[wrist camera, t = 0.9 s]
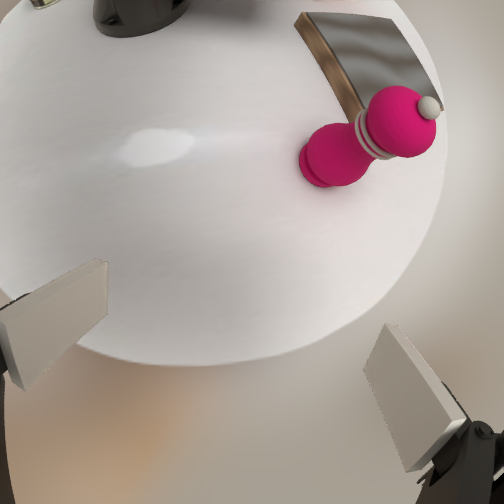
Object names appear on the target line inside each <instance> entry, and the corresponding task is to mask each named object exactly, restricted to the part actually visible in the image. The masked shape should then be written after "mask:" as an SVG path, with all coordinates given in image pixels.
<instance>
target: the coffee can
mask: <svg viewBox="0 0 504 504" xmlns="http://www.w3.org/2000/svg"><path fill="white" fill-rule="evenodd" d="M30 1H31V2H32V4H33V6H34V8H35V9H42V8H46V7H48V6H50V5H52V4H54V3H56V2H58V1H59V0H30Z"/></svg>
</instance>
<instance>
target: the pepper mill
mask: <svg viewBox="0 0 504 504" xmlns="http://www.w3.org/2000/svg"><path fill="white" fill-rule="evenodd" d="M440 110H441V109H440V105H439V103H438V102H437V101H436V99H434V98H433V97H429V96H425V97H422V96H421V95H420V94H418V93H417V92H416V91H414V90H412V89H410V88H407V87H405V86H397V85H395V86H389V87H386V88H384V89H382V90H380V91H378V92H377V93H376V94H375V95H374V96H373V97H372V99H371V100H370V103H369V106H367V107H366V108H365V109H363V110H361V111H360V112H359V113H358V115H357V117H356V120H355V121H354V122H352V123H348V124H345V123H333V124H328V125H325V126H323V127H322V128H320V129H318V130H317V131H316V132H314V133H313V135H312V136H311V138H310V140H309V142H308V143H307V144H306V145H305V146H304V147H303V148H302V150H301V152H300V156H299V164H300V168H301V171H302V173H303V175H304V176H305V177H306V179H307V180H308V181H309V182H311V183H312V184H314V185H316V186H319V187H331V186H346V185H349V184H352V183H354V182H356V181H357V180H359V179H360V178H361V177H362V176H363V175H364V174H365V173H366V171H367V169H368V167H369V165H370V164H371V163H372V162H373V161H374V160H375V159H380V160H388V159H391V158H393V157H397V156H400V157H406V158H410V157H415V156H418V155H420V154H422V153H424V152H425V151H426V150H427V149H428V148H429V147H430V146H431V145H432V143H433V141H434V139H435V135H436V122H435V119H436V118H437V117H438V116H439V115H440Z"/></svg>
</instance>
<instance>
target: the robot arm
mask: <svg viewBox="0 0 504 504" xmlns="http://www.w3.org/2000/svg"><path fill="white" fill-rule="evenodd" d="M188 5H189V0H94V8H93V18H94V21H95V23H96V26H97V28H98V29H99V31H101V32H102V33H104V34H106V35H109V36H113V37H132V36H138V35H143V34H146V33H150V32H153V31H156V30H158V29H160V28H163V27H165V26H167V25H169V24H170V23H172V22H174V21H175V20H176V19H178V18H179V17H180V16H181V15H182V14H183V13H184V12H185V11H186V9H187V7H188ZM107 282H108V262H105V261H102V260H99V259H94V260H92V261H90V262H88V263H86V264H84V265H82V266H80V267H78V268H76V269H74V270H72V271H70V272H68V273H66V274H64V275H63V276H61V277H59V278H57V279H55V280H53V281H51V282H50V283H48V284H46V285H44V286H42V287H41V288H39V289H37V290H35V291H33V292H31V293H27V294H24V295H22V296H21V297H19V298H17V299H16V300H14V301H12V302H10V304H7V305H5V306H4V307H2V308H0V504H15V500H14V495H13V491H12V486H11V480H10V475H9V469H8V462H7V453H6V442H5V426H4V391H5V390H4V389H5V380H4V376H3V373H4V372H5V371H7V370H8V372H9V374H10V377H11V380H12V382H13V383H14V384H16V385H17V386H18V387H20V388H21V389H23V390H24V391H27V390H28V389H29V388H30V387H31V386H32V385H33V384H34V383H35V382H36V381H37V380H38V379H39V378H40V377H41V376H42V375H43V374H44V373H45V372H46V371H47V370H48V369H49V368H50V367H51V366H52V365H53V364H54V363H55V362H56V361H57V360H58V359H59V358H60V357H61V356H62V355H63V354H64V353H65V352H66V351H67V350H69V349H70V348H71V347H72V346H73V345H74V344H75V343H76V342H77V341H78V340H79V339H80V338H81V337H82V336H84V335H85V334H86V333H87V332H88V331H89V330H90V329H91V328H92V327H93V326H94V325H96V324H97V323H98V322H99V321H100V320H101V319H102V318H103V317H104V316H106V315H107ZM363 371H364V373H365V376H366V378H367V380H368V382H369V384H370V387H371V389H372V391H373V394H374V396H375V398H376V400H377V403H378V405H379V407H380V410H381V412H382V414H383V417H384V419H385V421H386V424H387V426H388V429H389V431H390V434H391V436H392V439H393V441H394V443H395V446H396V449H397V451H398V454H399V456H400V459H401V461H402V464H403V466H404V469H405V472H406V473H408V472H412V471H417V470H421V469H423V467H424V466H425V465H427V464H428V463H429V462H430V460H432V462H433V464H434V466H433V467H432V468H431V469H430V470H429V471H428V472H426V473H425V474H424V475H423V476H422V477H421V478H420V479H419V480H418V482H417V484H419V483H420V482H421V481H422V480H424V479H425V482H424V483H423V484H422V486H423V487H422V490H421V492H420V495H419V497H418V499H417V502H416V504H504V473H503V474H502V475H501V476H500V477H499V478H498V479H497V480H495V481H494V479H493V476H494V475H495V474H496V473H497V472H498V471H499V470H500V469H501V468H502V467H503V466H504V430H503V431H502V433H501V434H499V433H498V434H497V433H494V431H493V430H492V428H491V427H490V426H489V425H488V424H486V423H484V422H482V421H474V422H472V421H471V420H470V418H469V417H468V415H467V414H466V413H465V411H464V409H463V408H462V407H461V405H460V404H459V402H457V401H456V398H455V397H454V395H452V393H451V391H450V390H449V389H448V387H447V386H446V385H445V384H444V383H443V382H442V381H440V380H439V378H438V377H437V376H436V374H435V373H434V372H433V370H432V369H431V368H430V366H429V365H428V364H427V362H426V361H425V360H424V359H423V357H422V356H421V355H420V353H419V352H418V351H417V349H416V348H415V347H414V346H413V345H412V343H411V342H410V341H409V339H408V338H407V337H406V336H405V334H404V333H403V332H402V331H401V330H400V328H399V327H398V326H397V325H392V324H385V323H384V325H383V327H382V330H381V332H380V334H379V337H378V339H377V341H376V343H375V346H374V348H373V350H372V352H371V354H370V356H369V358H368V360H367V363H366V364H365V367H364V369H363Z"/></svg>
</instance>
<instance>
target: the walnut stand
mask: <svg viewBox="0 0 504 504" xmlns="http://www.w3.org/2000/svg"><path fill="white" fill-rule="evenodd" d="M294 26H295V28H296V29H297V30H298V32H299V33H300V35H301V37H302V38H303V40H304V41H305V43H306V44H307V46H308V47H309V49H310V51H311V52H312V54H313V55H314V57H315V59H316V60H317V62H318V64H319V66H320V67H321V69H322V71H323V73H324V74H325V76H326V78H327V80H328V81H329V83H330V85H331V87H332V89H333V91H334V93H335V95H336V96H337V98H338V100H339V102H340V104H341V106H342V108H343V110H344V112H345V114H346V116H347V119H348V121H349V123H352V122H354V121H355V120H356V117H357V115H358V113H359V112H360V111H361V110H363V109H365V108H366V107H367V106H369V103H370V100H371V99H372V97H373V96H374V95H375V94H376V93H377V92H378V91H380V90H382V89H384V88H386V87H389V86H395V85H397V86H405V87H407V88H410V89H412V90H414V91H416V92H417V93H418V94H420V95H421V96H422V97H425V96H429V97H433V98H434V99H436V101H437V102H438V103H439V105H440V109H441V110H440V111H443V110H444V108H443V104H442V102H441V100H440V98H439V96H438V94H437V92H436V90H435V88H434V86H433V84H432V82H431V80H430V79H429V77H428V75H427V73H426V71H425V70H424V68H423V66H422V64H421V63H420V61H419V59H418V58H417V56H416V54H415V53H414V51H413V50H412V48H411V47H410V45H409V44H408V42H407V41H406V39H405V38H404V36H403V35H402V33H401V32H400V30H399V29H398V28H397V26H396V25H395V23H394V22H393V21H392V19H387V18H381V17H374V16H366V15H357V14H345V13H325V12H301V14H300V16H299V17H298V19H297V21H296V23H295V25H294Z"/></svg>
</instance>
